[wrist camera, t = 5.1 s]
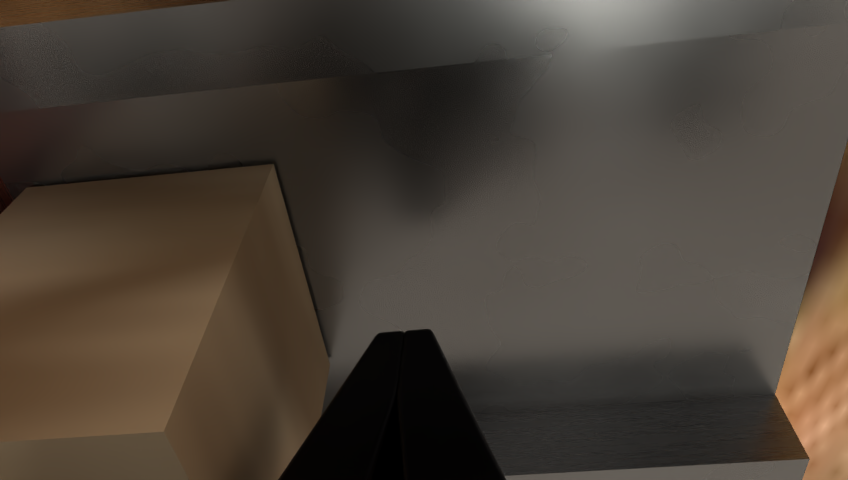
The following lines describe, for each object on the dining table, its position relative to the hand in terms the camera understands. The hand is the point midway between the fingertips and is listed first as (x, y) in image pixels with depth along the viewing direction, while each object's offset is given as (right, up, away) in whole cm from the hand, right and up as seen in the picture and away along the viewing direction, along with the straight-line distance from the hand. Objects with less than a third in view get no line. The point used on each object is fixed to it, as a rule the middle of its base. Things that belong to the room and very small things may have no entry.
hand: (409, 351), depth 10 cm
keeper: (-4, +1, +2) cm, 4 cm away
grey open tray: (0, +2, +2) cm, 3 cm away
